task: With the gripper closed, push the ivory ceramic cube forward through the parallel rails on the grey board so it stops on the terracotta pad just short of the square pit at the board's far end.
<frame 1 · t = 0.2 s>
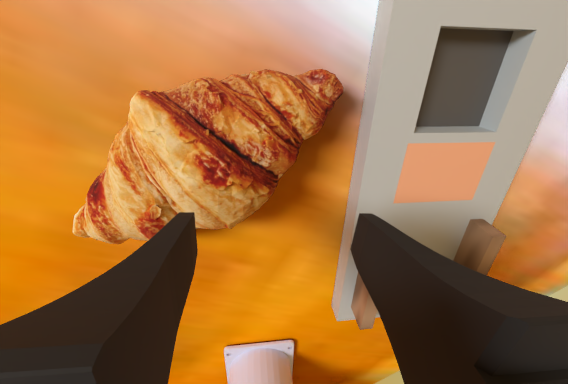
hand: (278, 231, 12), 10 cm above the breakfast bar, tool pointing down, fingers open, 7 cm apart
croissant: (200, 149, 20), on the breakfast bar
parallel rails: (412, 265, 26), resting on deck
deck: (419, 190, 24), on the breakfast bar
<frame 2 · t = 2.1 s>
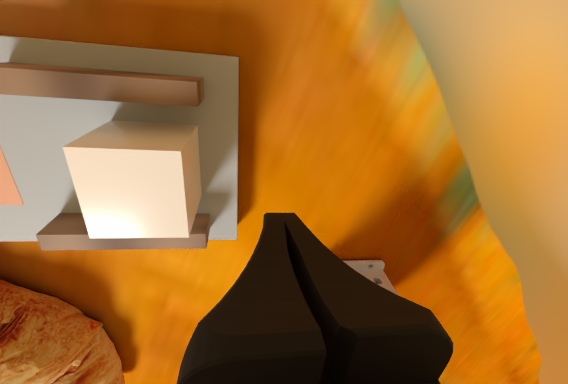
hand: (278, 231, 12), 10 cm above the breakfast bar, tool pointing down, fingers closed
croissant: (50, 324, 27), on the breakfast bar
parallel rails: (127, 159, 18), resting on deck
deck: (26, 144, 18), on the breakfast bar
cube: (160, 160, 18), point 2 cm above the breakfast bar, touching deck
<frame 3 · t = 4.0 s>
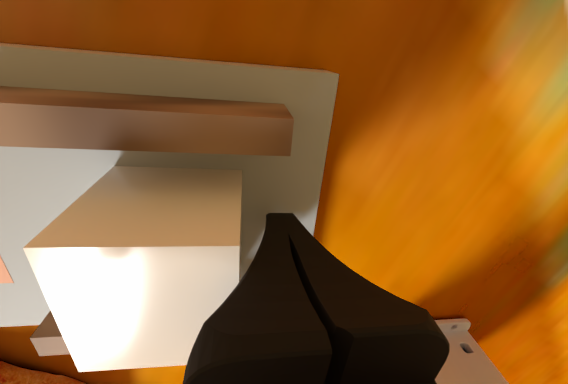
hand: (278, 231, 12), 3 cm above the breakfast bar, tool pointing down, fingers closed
parallel rails: (163, 219, 12), resting on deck
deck: (17, 196, 13), on the breakfast bar
cube: (185, 219, 12), point 2 cm above the breakfast bar, touching gripper
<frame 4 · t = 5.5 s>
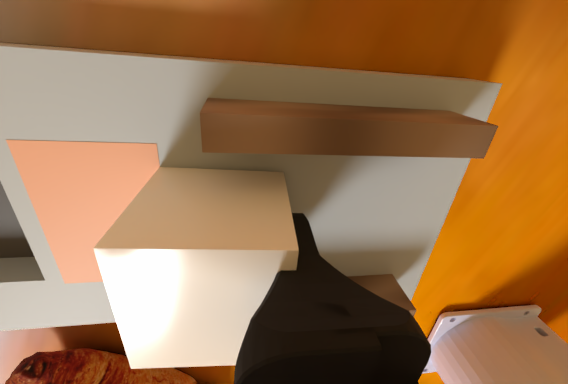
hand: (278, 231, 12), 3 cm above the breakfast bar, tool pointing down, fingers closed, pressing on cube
parallel rails: (319, 216, 13), resting on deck
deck: (176, 197, 14), on the breakfast bar
cube: (224, 220, 12), point 2 cm above the breakfast bar, touching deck, gripper
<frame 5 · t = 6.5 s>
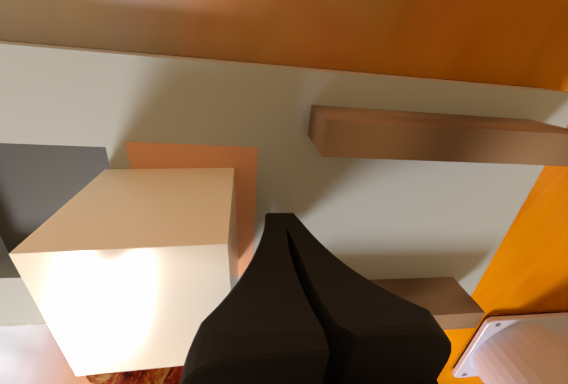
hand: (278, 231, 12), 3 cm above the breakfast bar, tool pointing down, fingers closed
parallel rails: (394, 219, 14), resting on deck
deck: (253, 198, 14), on the breakfast bar
cube: (180, 220, 12), point 2 cm above the breakfast bar, touching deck, gripper
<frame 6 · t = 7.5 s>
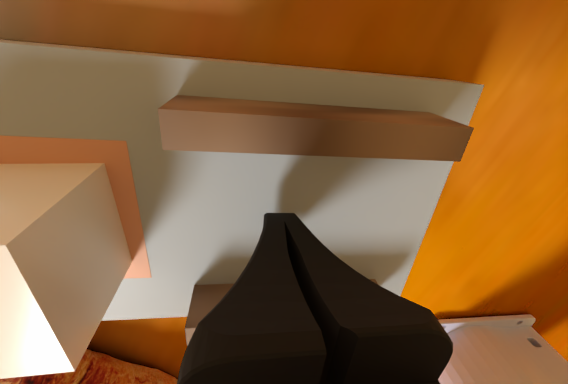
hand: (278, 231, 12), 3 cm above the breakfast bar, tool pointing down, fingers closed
parallel rails: (297, 218, 13), resting on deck
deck: (153, 196, 14), on the breakfast bar
cube: (55, 219, 11), point 2 cm above the breakfast bar, touching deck
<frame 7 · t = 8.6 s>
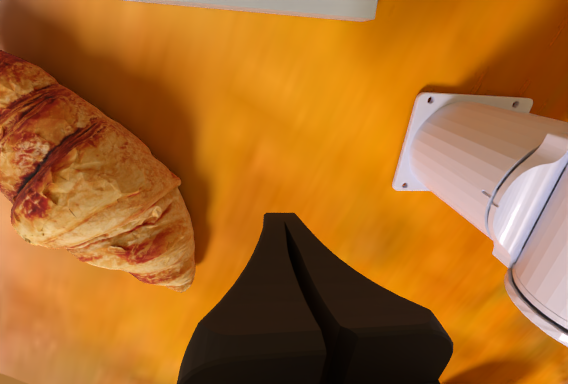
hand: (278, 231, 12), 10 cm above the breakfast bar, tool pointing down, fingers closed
croissant: (115, 182, 21), on the breakfast bar
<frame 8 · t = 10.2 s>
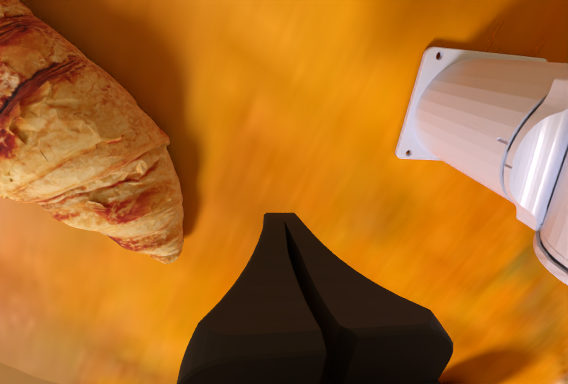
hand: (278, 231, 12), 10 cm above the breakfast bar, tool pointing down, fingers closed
croissant: (98, 140, 20), on the breakfast bar
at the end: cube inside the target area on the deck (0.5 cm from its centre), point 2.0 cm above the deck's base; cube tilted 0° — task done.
